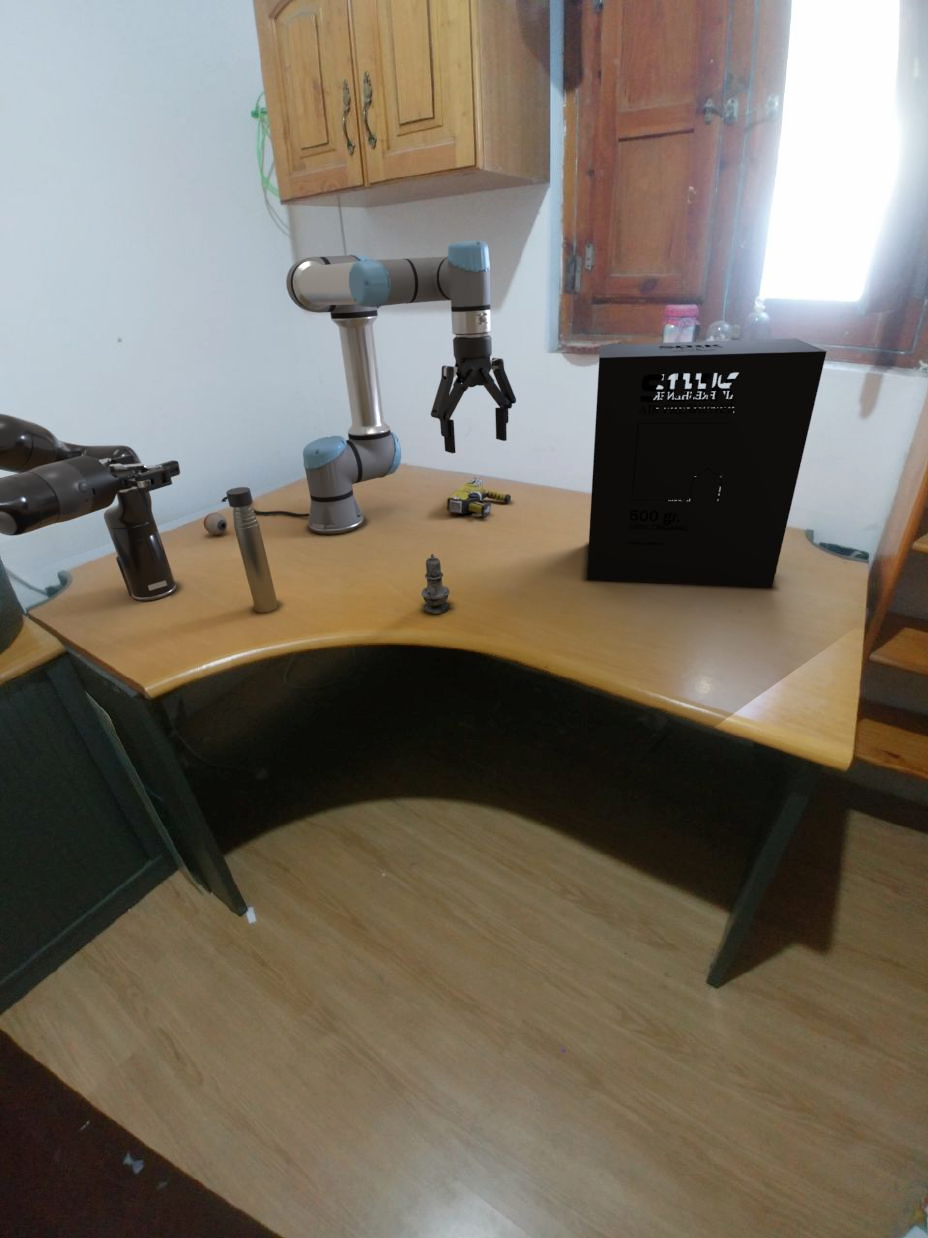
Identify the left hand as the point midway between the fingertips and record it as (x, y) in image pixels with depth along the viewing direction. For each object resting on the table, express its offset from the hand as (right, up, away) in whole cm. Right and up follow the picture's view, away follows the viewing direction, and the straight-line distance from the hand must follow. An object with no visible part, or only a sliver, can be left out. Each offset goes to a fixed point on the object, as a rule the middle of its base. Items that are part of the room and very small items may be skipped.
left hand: (155, 464), depth 96 cm
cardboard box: (+96, -12, +41) cm, 106 cm away
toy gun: (+55, +9, +82) cm, 99 cm away
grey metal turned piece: (+43, -22, +29) cm, 57 cm away
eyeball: (-19, -1, +72) cm, 75 cm away
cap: (+6, -2, +22) cm, 23 cm away
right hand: (+52, +12, +32) cm, 62 cm away
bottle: (+7, -22, +33) cm, 41 cm away
